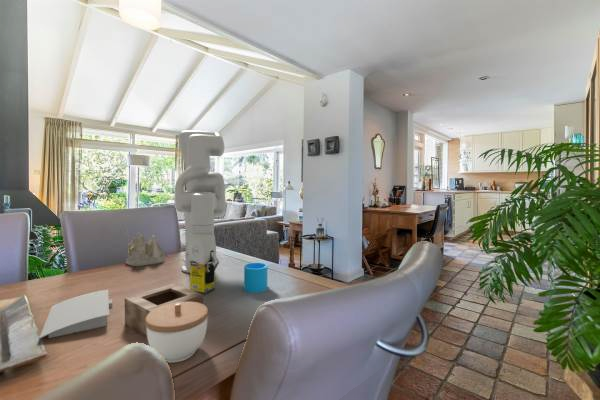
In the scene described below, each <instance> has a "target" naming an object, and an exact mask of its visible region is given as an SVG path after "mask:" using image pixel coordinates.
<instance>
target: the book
mask: <svg viewBox="0 0 600 400" xmlns="http://www.w3.org/2000/svg"><path fill="white" fill-rule="evenodd" d="M110 308H113V299H109V289H103V290H98V291H94V292H93V291H92V292H88V293H86V294H85V293H84V294H82V295H78V296H74V297H72V298H69V299H65V300H62V301H61V302H58V303H56V304H54V305H52V306H51V308H50V310H49V313H48V315H47V318H46V320H45V322H44V325H43V327H42V331H41V333H40V334H39V337H40V339H43V338H44V337H46V336H48V339H52V338H56V337H60V336H65V335H69V334H73V333H74V332H75V333H79V332H83V331H88V330H93V329H98V328H101V327H102V328H103V327H106V326H107V325H108V324H107V316H110Z"/></svg>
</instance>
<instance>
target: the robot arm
mask: <svg viewBox="0 0 600 400" xmlns="http://www.w3.org/2000/svg"><path fill="white" fill-rule="evenodd" d="M178 147H179V149H180V152H181V155H182V157H183V160H184V164H185V169H184V170H183V171H182V173H180V174H179V176H178V177H177V180H176V181H175V183H174V184H175V185H174V204H175V209H176V210H177V211H178V212H179V213H182V214H183V215H184V217H183V218H184V227H185V228H184V229H185V230H184V232H185V233H184V234H185V257H184V258H183V259H182V262H184V265H183V266H181V271H182V272H184V273H187V274H190V261H196V262H197V263H199V264H202V265H205V264H206V271H207V272H205V283H206V284H209V283H212V282H214V271H215V272H216V269H217V267H218V266H219V264H220V260H219V258H218V257H217V244H216V236H215V218H221V217H224V216H225V215H226V212H227V203H226V189H225V188H226V187H225V186H226V185H225V179H224V176H223V174H221V173H220V172H213V171H212V172H211V157H221V156H223V155H224V153H225V142H224V139H223V137H222V136H221V134H220V133H218V132H217V131H206V130H205V131H204V130H203V131H202V130H192V129H190V130H183V131H181V132H179V135H178ZM185 186H186V191H184V187H185ZM209 261H210V262H209ZM209 264H211V266H210V267H209Z"/></svg>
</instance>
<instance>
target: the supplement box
mask: <svg viewBox="0 0 600 400" xmlns="http://www.w3.org/2000/svg"><path fill="white" fill-rule="evenodd" d="M209 262H210V261H209ZM210 266H211V264H209V267H210ZM205 272H207V271H206V264H205V265H202V264H199V263H197V262H196V261H190V273H189V274H190V278H189V280H190V281H189V282H190V285H189V287H190V288H189V289H190V290H193V291H195V292H198V293H200V294H203V296H204V295H206V294H207V293H210V292H212V291H213V290H215V288H216V286H215V285H216V284H215V283H216V282H215V281H216V277H215V276H216V270H215V271H214V282H212V283H209V284H206V283H205Z"/></svg>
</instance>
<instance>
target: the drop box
mask: <svg viewBox="0 0 600 400" xmlns="http://www.w3.org/2000/svg"><path fill="white" fill-rule="evenodd" d="M187 301H188V302H198V303H201V304H204V295H203V294H200V293H198V292H195V291H193V290H190V288H187V287H185V286H181V285H179V284H178V283H177V284H176V283H171V284H167V285H164V286H161V287H158V288H154V289H151V290H148V291H145V292H141V293H137V294H132V295H131V296H127V297H124V325H126V326H128V327H129V328H131V329H133V330H134V331H136V333H139V334H141V335H142V336H143V337H145V338H147V332H146V323H145V319H146V316H147V315H148V314H149V313H150V312H151V311H153V310H154V309H156V308H158V307H161V306H163V305H167V304H170V303H176V302H187Z"/></svg>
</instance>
